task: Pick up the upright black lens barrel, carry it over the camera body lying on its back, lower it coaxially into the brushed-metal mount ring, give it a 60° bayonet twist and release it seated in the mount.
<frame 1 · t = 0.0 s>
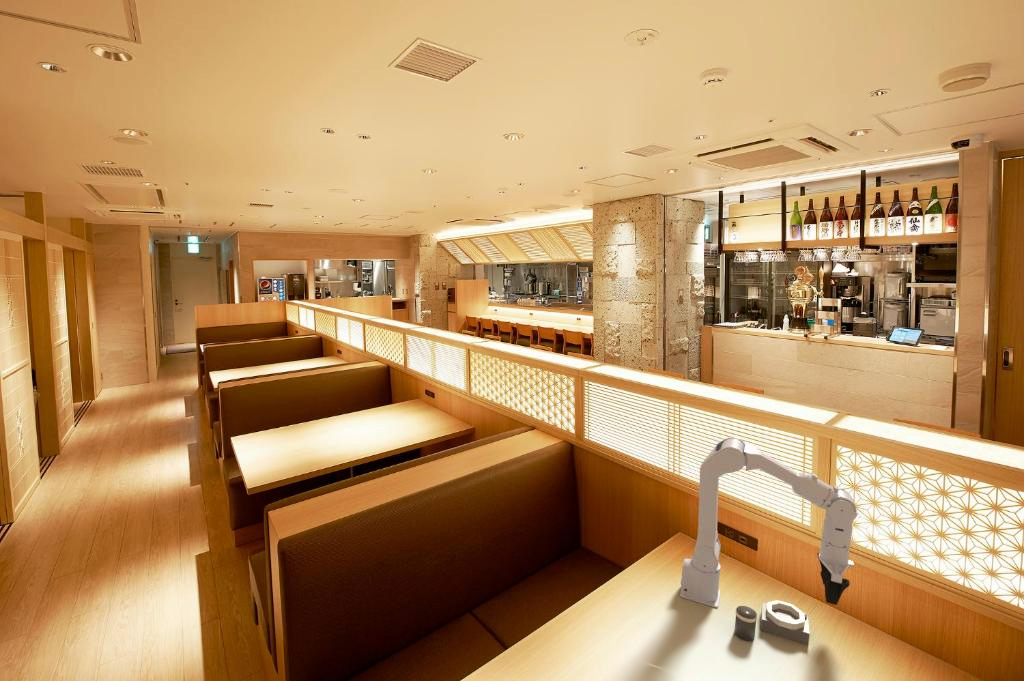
hand: (829, 593, 119), 10 cm above the table, fingers open, 7 cm apart
lens: (744, 634, 119), on the table
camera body: (783, 628, 121), on the table
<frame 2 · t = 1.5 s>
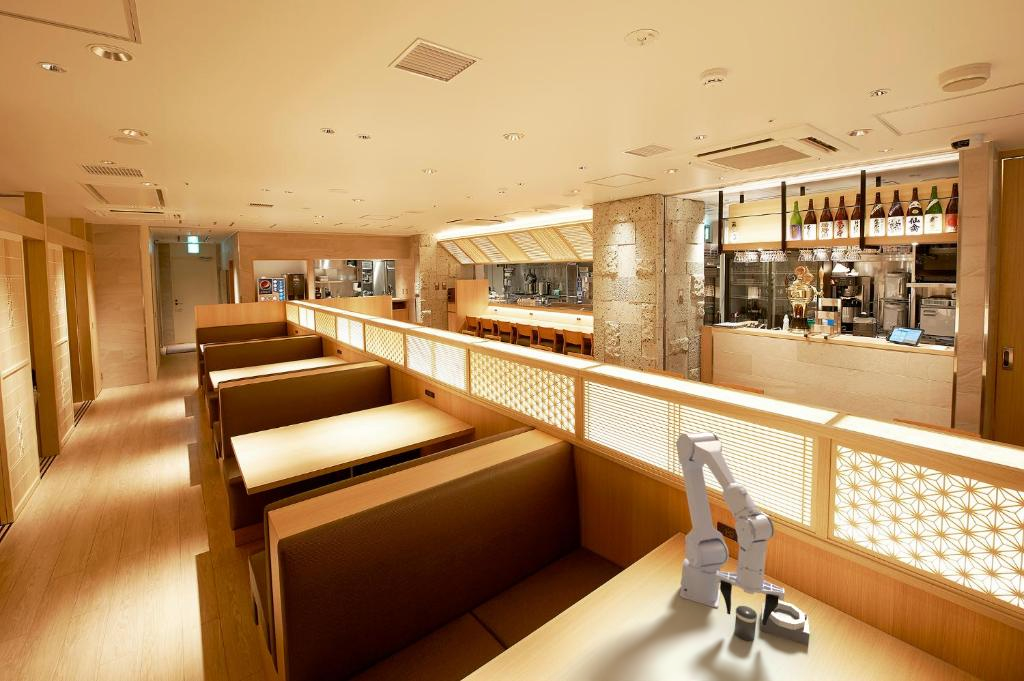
hand: (746, 617, 118), 5 cm above the table, fingers open, 7 cm apart
nothing on the table moved.
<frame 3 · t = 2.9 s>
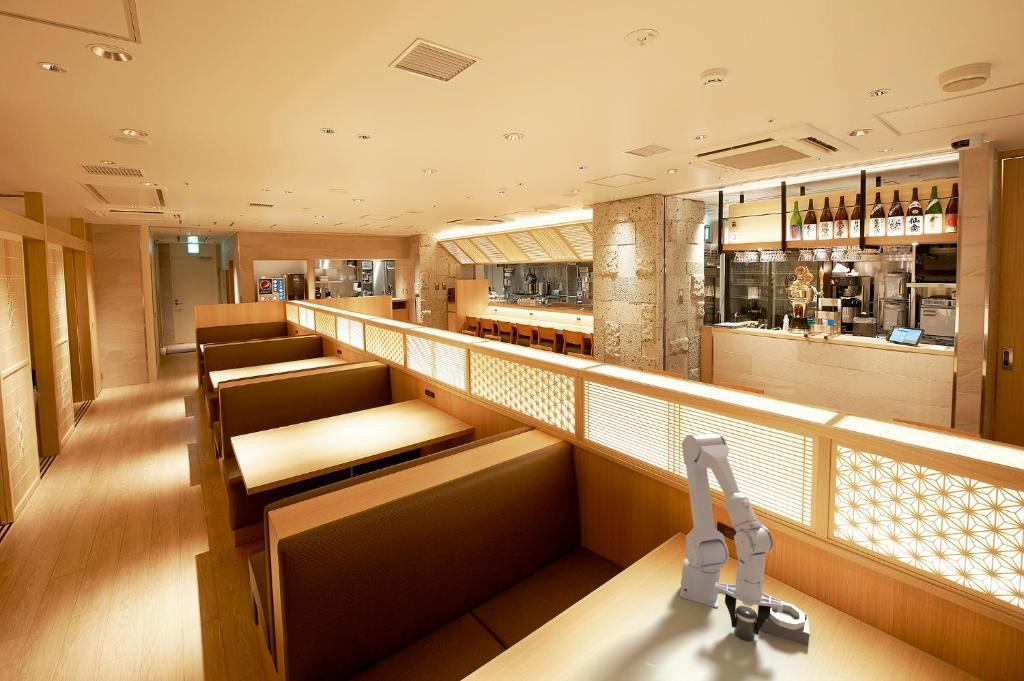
hand: (744, 628, 119), 2 cm above the table, fingers closed on lens, 4 cm apart
lens: (744, 634, 119), on the table, touching gripper
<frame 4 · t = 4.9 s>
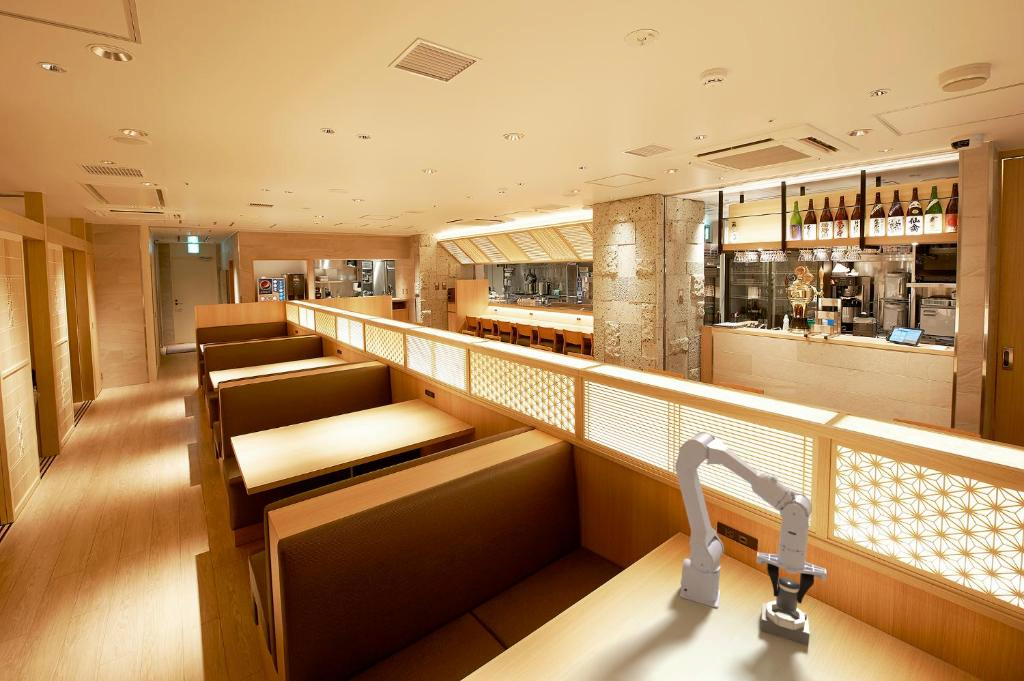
hand: (787, 597, 120), 8 cm above the table, fingers closed on lens, 4 cm apart
lens: (786, 605, 120), point 6 cm above the table, touching gripper
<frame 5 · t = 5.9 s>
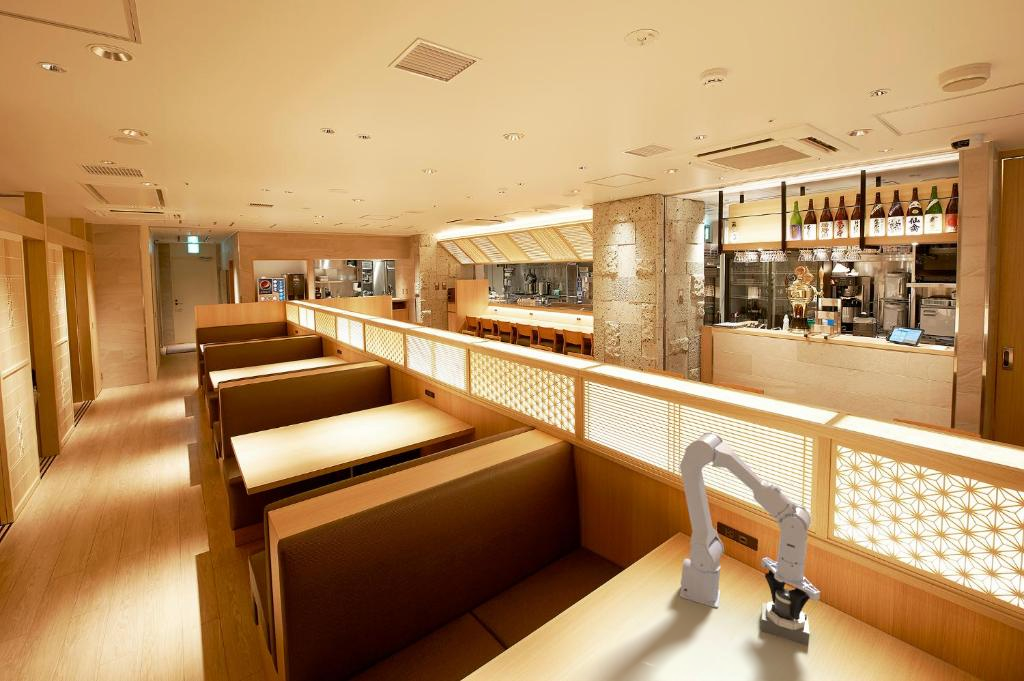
hand: (785, 609, 120), 5 cm above the table, fingers closed on lens, 4 cm apart
lens: (783, 616, 121), point 3 cm above the table, touching gripper
when the fingers open (5 cm above the table, at t = 7.0 s): lens stays where it is, resting on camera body.
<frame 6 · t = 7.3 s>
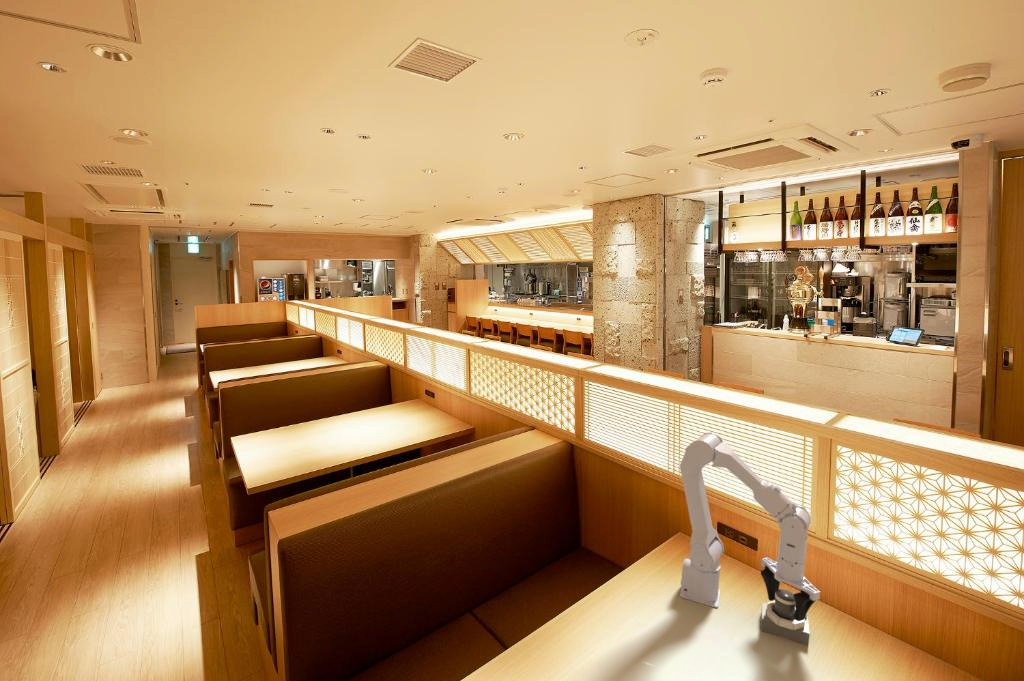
hand: (785, 609, 120), 5 cm above the table, fingers open, 7 cm apart
lens: (783, 617, 121), point 3 cm above the table, touching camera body
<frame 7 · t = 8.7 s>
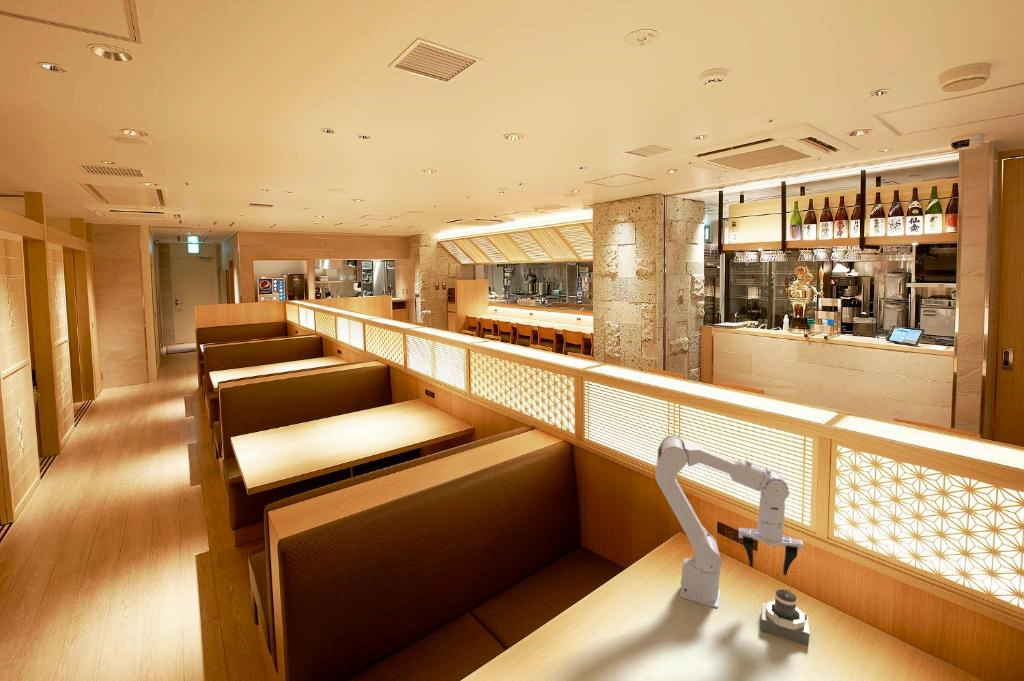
hand: (767, 569, 128), 10 cm above the table, fingers open, 7 cm apart
nothing on the table moved.
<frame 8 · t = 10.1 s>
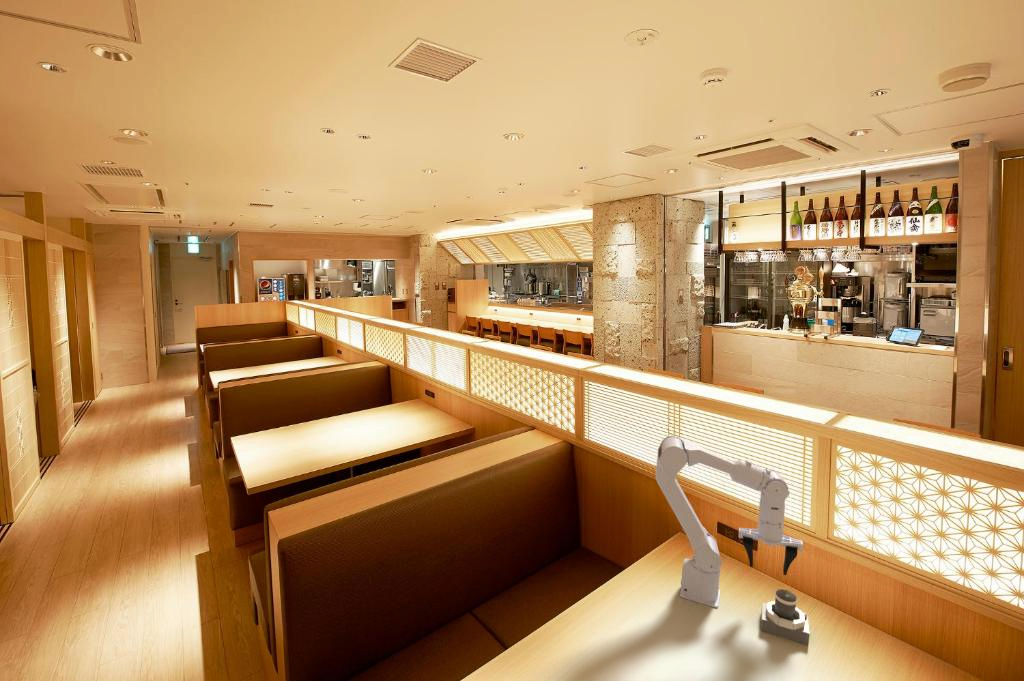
hand: (767, 568, 128), 10 cm above the table, fingers open, 7 cm apart
nothing on the table moved.
at the end: lens 0.4 cm off-centre on the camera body, point 3.0 cm above the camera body's base; lens tilted 1°; the gripper is holding nothing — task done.
